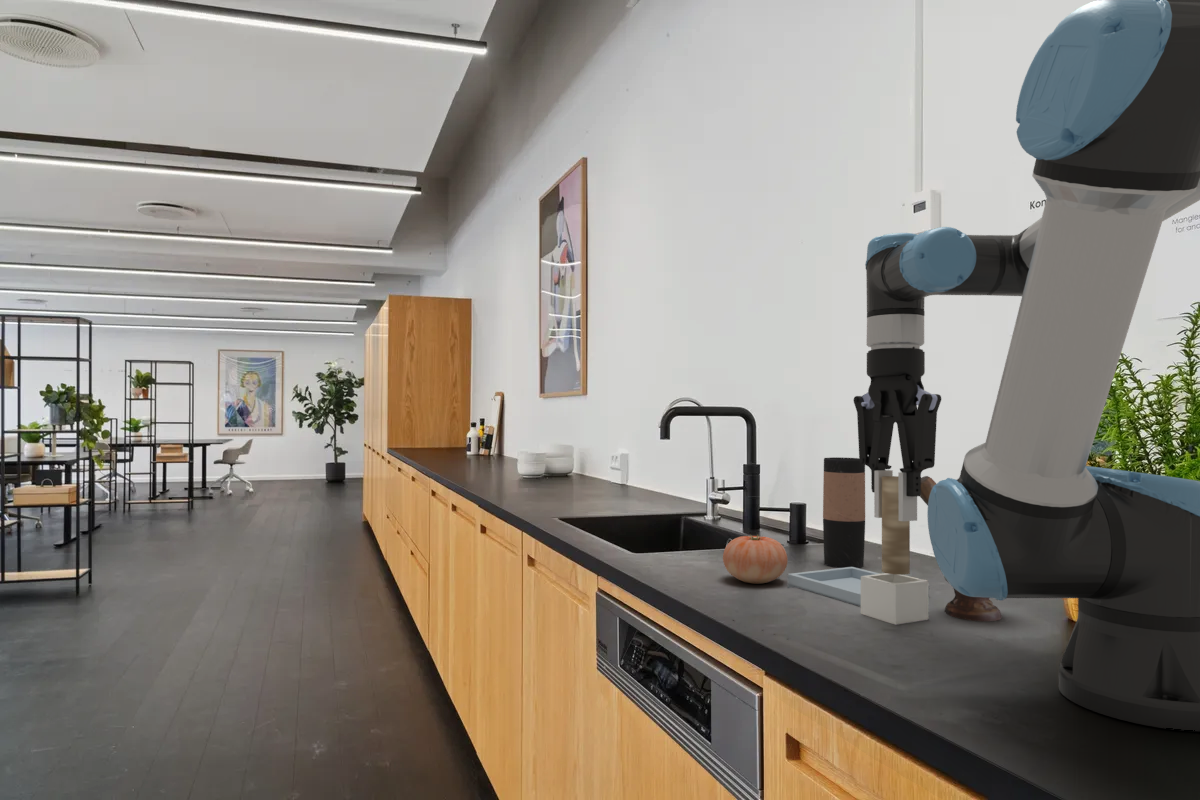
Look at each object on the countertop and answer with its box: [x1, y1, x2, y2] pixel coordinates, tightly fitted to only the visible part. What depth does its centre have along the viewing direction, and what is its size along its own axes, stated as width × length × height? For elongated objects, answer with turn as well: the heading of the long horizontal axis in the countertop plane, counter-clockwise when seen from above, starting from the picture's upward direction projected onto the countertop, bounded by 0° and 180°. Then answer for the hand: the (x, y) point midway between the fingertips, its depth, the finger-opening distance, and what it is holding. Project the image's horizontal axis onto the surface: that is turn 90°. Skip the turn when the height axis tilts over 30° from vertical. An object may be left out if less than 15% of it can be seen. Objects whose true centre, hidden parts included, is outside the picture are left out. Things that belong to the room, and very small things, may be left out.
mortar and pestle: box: [919, 475, 1003, 622], centre depth 111 cm, size 12×9×20 cm
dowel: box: [881, 475, 911, 575], centre depth 110 cm, size 4×4×13 cm
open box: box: [860, 572, 930, 626], centre depth 110 cm, size 6×6×6 cm
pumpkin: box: [722, 533, 789, 585], centre depth 135 cm, size 11×11×8 cm
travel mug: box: [822, 456, 866, 569], centre depth 151 cm, size 8×8×20 cm
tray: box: [786, 567, 881, 608], centre depth 125 cm, size 16×14×2 cm
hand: (895, 518), depth 110 cm, fingers closed on dowel, 3 cm apart
